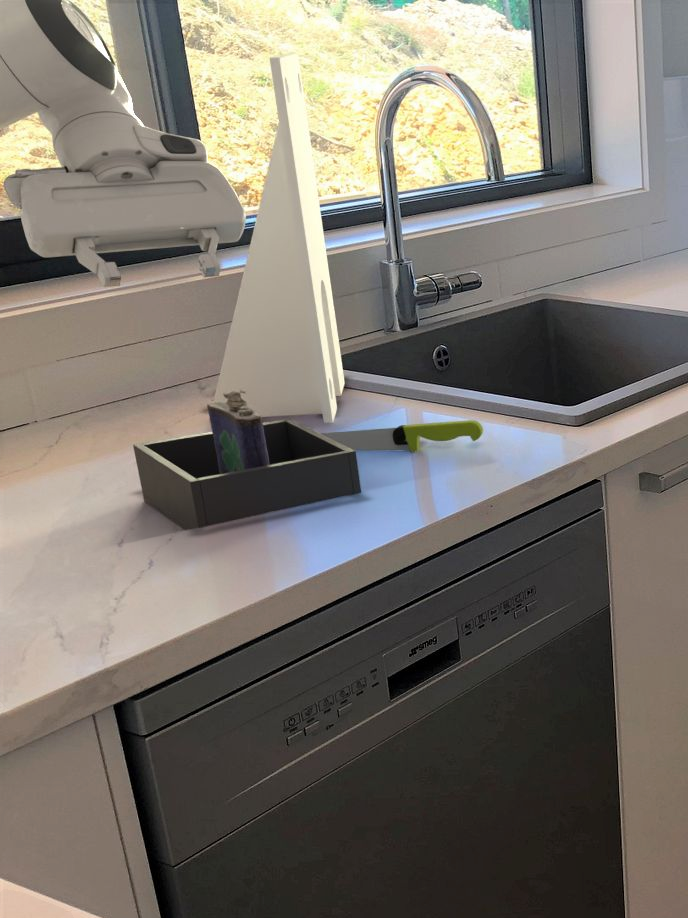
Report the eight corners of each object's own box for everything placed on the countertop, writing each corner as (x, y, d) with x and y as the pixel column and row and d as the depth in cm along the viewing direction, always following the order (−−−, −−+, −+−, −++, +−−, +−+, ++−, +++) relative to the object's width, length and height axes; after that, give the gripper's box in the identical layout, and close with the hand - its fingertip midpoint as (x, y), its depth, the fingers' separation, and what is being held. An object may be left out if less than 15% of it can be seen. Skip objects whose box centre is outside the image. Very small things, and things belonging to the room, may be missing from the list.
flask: (218, 490, 139) (199, 384, 134) (247, 484, 141) (229, 379, 136) (256, 512, 133) (238, 402, 128) (286, 506, 135) (269, 397, 130)
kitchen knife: (286, 462, 155) (279, 436, 153) (290, 459, 156) (284, 433, 155) (483, 448, 154) (478, 422, 153) (486, 445, 155) (481, 419, 154)
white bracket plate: (227, 389, 179) (168, 52, 163) (344, 383, 183) (298, 53, 166) (202, 429, 162) (133, 57, 145) (332, 422, 165) (279, 57, 149)
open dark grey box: (201, 542, 127) (190, 482, 125) (144, 501, 138) (132, 444, 135) (363, 507, 137) (356, 451, 135) (298, 471, 148) (290, 418, 145)
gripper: (-3, 148, 131) (50, 267, 129) (218, 140, 144) (270, 248, 141) (-4, 193, 136) (46, 309, 133) (210, 181, 149) (260, 287, 146)
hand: (163, 278), depth 137 cm, fingers open, 8 cm apart
